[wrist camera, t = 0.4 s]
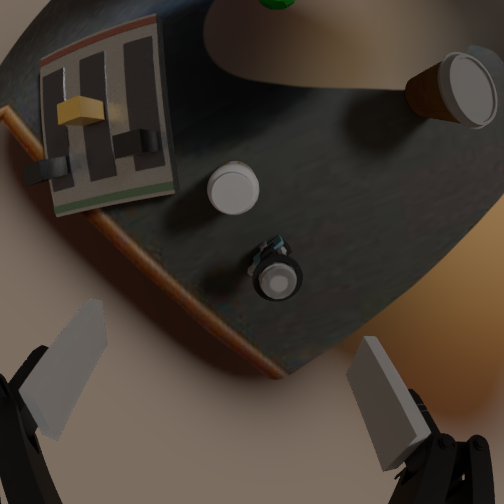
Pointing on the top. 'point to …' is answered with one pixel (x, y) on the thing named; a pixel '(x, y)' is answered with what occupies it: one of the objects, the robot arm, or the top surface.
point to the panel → (108, 120)
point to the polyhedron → (276, 3)
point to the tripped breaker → (80, 111)
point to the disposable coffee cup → (454, 92)
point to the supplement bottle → (233, 188)
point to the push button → (275, 271)
